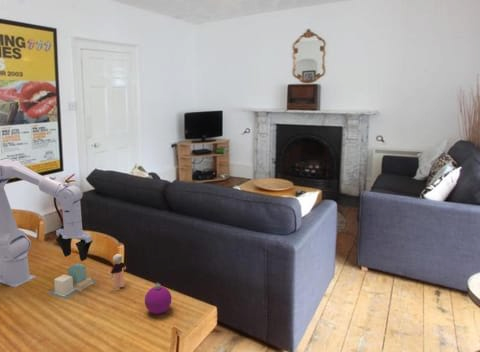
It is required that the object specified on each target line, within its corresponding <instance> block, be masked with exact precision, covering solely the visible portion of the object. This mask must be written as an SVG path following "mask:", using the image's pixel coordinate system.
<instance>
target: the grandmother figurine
mask: <svg viewBox="0 0 480 352" xmlns="http://www.w3.org/2000/svg"><path fill="white" fill-rule="evenodd" d="M123 257H124V256H123V255H122V254H120V253H116V254H114V256H112V261H113V262H114V265H113V266H112V268H111V271H110V275H109V279H111V280H112V279H113V288H112V289H113V291H114V292H117V291H120V290H121V288H124V287H125V286H126V284H125V278H124V272H123V270H126V269H127V267H126V264H125V263H124V262H123Z"/></svg>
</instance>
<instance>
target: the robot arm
mask: <svg viewBox="0 0 480 352" xmlns="http://www.w3.org/2000/svg"><path fill="white" fill-rule="evenodd" d="M12 178H18V179H20V180H23V181H25V182H28V183H30V184H33V185H35V186H37V187H38V189H39V191H40V192H42V193H44V194H46V195H48V196H51V197H53V198H55V199H57V202H58V203H59V205H60V207H61V210H62V213H61V214H62V221H63V222H62V223H63V224H62V225H63V228H59V229H56V230H55V233H56V236H57V237H56V238H55V241H56V242H57V244H58V245H59V246H60V249H61V250H62V253H63V255H64V257H68V256H71V255H72V240H74V239H75V240H79V241H78V242H75V246H76V248H77V250H78V255H79V259H80V262H83V261H85V260H87V259H88V253H89V251H90V247H91V245H92V243H93V242H94V241H93V238H92V235H90V234H88V233H87V232H85V231H84V230H83V222H82V221H83V220H82V207H81V206H82V205H81V199H82V198H83V196H84V193H83V189H82V187H80V186H79V185H77V184H76V183H72V184H69V183H68V182H63V181H61V180H60V179H57V178H56V176H55V175H47V176H43V175H42V174H40V173H38V172H35V171H34V170H32V169H30V168H28V167H27V166H25V165H23V164H22V163H21V161H19V160H16V159H14V158H12V157H7V158H4V159H0V283H1V284H5V285H8V286H10V287H13V288H17V287H19V286H21V285H23V284H26V283H27V282H29V281H31V280H33V279H35V278H36V276H35V275H32V274H30V267H29V266H30V265H29V259H28V254H29V250H30V249H31V246H32V242H31V240H30V239H29V238H28V236H27V235H26V233H25V231H24V230H21V229H19V228H18V225H17V222H16V219H15V216H14V214H13V211H12V208H11V205H10V203H9V200H8V196H7V194H6V191H5V186H6V184H7V183H8V182H9V180H10V179H12Z"/></svg>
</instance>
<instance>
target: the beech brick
mask: <svg viewBox="0 0 480 352" xmlns="http://www.w3.org/2000/svg"><path fill="white" fill-rule="evenodd" d="M90 278H91V277H88V278H86V279H85V280H83V281H81V282H79V283H74V282H73V287H74V288H77V289H80V290H81V289H83V288H84V287H86V286H88V285H89V284H91V283H92V280H91V279H92V278H91V279H90ZM91 285H92V284H91ZM88 287H89V286H88ZM86 288H87V287H86ZM83 290H84V289H83ZM81 291H82V290H81Z"/></svg>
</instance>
